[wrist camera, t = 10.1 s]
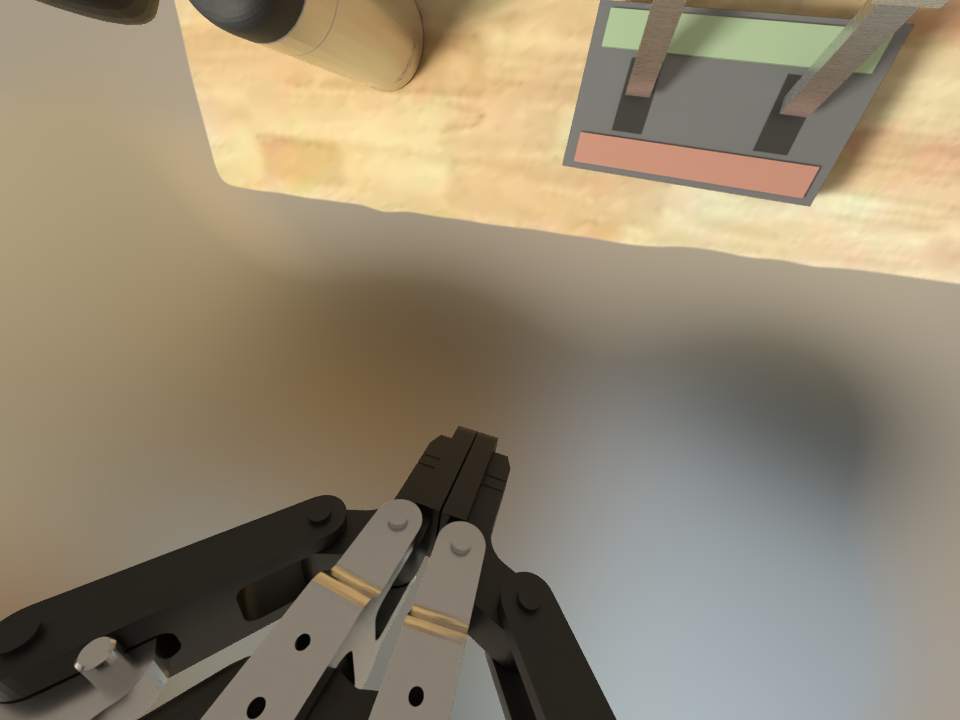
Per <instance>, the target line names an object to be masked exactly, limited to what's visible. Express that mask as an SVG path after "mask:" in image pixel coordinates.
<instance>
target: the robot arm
mask: <svg viewBox="0 0 960 720" xmlns="http://www.w3.org/2000/svg"><path fill="white" fill-rule="evenodd" d="M37 1H39V2H42V3H45V4H48V5H51V6H53V7H57V8H60V9H63V10H66V11H69V12H73V13H76V14H79V15H83V16H86V17H90V18H94V19H98V20H102V21H106V22H112V23H118V24H125V25H141V24H145V23H148V22H150V21H151V20H152V19H153V18H154V17H155V15H156V13H157V9H158V5H159V0H37ZM189 1H190V2H191V3H192V5H193V6H194V7H195V8H196V9H197V10H198V11H199V12H200V13H201V14H202V15H203V16H204V17H205V18H207V19H208V20H209V21H210V22H212V23H213V24H215V25H216V26H217V27H219V28H221V29H223V30H225V31H227V32H229V33H231V34H233V35H236V36H238V37H241V38H244V39H246V40H249V41H252V42H255V43H257V44H260V45H262V46H265V47H267V48H270V49H273V50H275V51H278V52H280V53H283V54H286V55H289V56H291V57H294V58H296V59H299V60H302V61H304V62H307V63H309V64H312V65H315V66H317V67H320V68H322V69H325V70H327V71H330V72H333V73H335V74H338V75H340V76H343V77H346V78H348V79H351V80H353V81H356V82H358V83H361V84H363V85H366V86H369V87H371V88H374V89H377V90H380V91H383V92H391V91H395V90H398V89H400V88H401V87H403V86H405V85H406V84H407V83H408V82H409V81H410V80H411V79H412V77H413V75H414V74H415V72H416V70H417V68H418V65H419V63H420V60H421V55H422V50H423V28H422V22H421V18H420V14H419V11H418V9H417V6H416V4H415V2H414V0H189ZM497 441H498V438H496V437H494V436H490V435H487V434H484V433H481V432H479V433H478V431H474V430H471V429H468V428H465V427H462V426H458V428H457V430H456V431H455V433H454V435H453V437H452V438H449V437H446V436H443V435H441V436H439V437H438V438H436V439H435V440H433V441H432V442H430V444H429V445H428V447H427V448H426V450H425V452H424V454H423V455H422V456H421V458H420V460H419V461H418V464H417V465H416V466H415V468H414V469H413V471H412V472H411V474H410V475H409V477H408V479H407V480H406V482H405V483H404V485H403V487H402V488H401V490H400V491H399V493H398V495H397V496H396V497H395V499H394V500H391V501H389V502H387V503H385V504H383V505H382V506H381V507H380V508H379V509H376V510H367V511H365V510H346V507H345V504H344V503H343V502H342V500H341V499H339V498H337V497H335V496H331V495H322V496H318V497H314V498H311V499H309V500H306V501H304V502H301V503H298V504H296V505H293V506H291V507H288V508H285V509H283V510H280V511H277V512H275V513H272V514H269V515H267V516H264V517H262V518H259V519H256V520H254V521H251V522H249V523H246V524H243V525H240V526H238V527H235V528H233V529H230V530H227V531H225V532H222V533H219V534H217V535H214V536H212V537H209V538H206V539H204V540H201V541H198V542H196V543H193V544H191V545H188V546H185V547H183V548H180V549H178V550H175V551H172V552H169V553H167V554H164V555H162V556H159V557H157V558H154V559H151V560H148V561H146V562H143V563H141V564H138V565H135V566H133V567H130V568H128V569H125V570H122V571H120V572H117V573H115V574H112V575H109V576H106V577H104V578H101V579H99V580H96V581H93V582H91V583H88V584H85V585H83V586H80V587H78V588H75V589H72V590H70V591H67V592H65V593H62V594H59V595H57V596H54V597H51V598H49V599H46V600H43V601H41V602H38V603H36V604H33V605H30V606H28V607H26V608H24V609H21V610H19V611H17V612H16V613H13V614H12V615H10V616H8V617H7V618H5V619H4V620H2V621H1V622H0V720H135V719H136V718H137V717H139V716H142V715H143V714H145V713H146V712H147V711H148V710H149V709H150V708H151V707H152V706H153V704H154V703H155V701H156V699H157V697H158V696H159V694H160V693H161V691H162V690H163V688H164V686H165V684H166V682H167V679H168V678H170V677H171V676H173V675H175V674H177V673H179V672H181V671H183V670H185V669H187V668H188V667H190V666H192V665H194V664H196V663H198V662H199V661H201V660H203V659H205V658H207V657H209V656H211V655H213V654H214V653H217V652H218V651H220V650H222V649H224V648H226V647H228V646H230V645H232V644H233V643H235V642H237V641H239V640H241V639H243V638H245V637H247V636H248V635H250V634H252V633H254V632H256V631H258V630H259V629H261V628H263V627H265V626H267V625H269V624H271V623H273V622H274V621H276V620H278V619H280V618H281V619H280V620H279V622H278V623H277V624H276V625H275V627H274V628H273V629H272V630H271V632H270V633H269V634H268V635H267V637H266V638H265V639H264V640H263V642H262V643H261V644H260V645H259V647H258V648H257V649H256V650H255V652H254V653H253V654H252V655H251V656H249V657H246V658H243V659H241V660H239V661H237V662H235V663H233V664H231V665H229V666H227V667H226V668H224V669H222V670H220V671H219V672H217V673H215V674H214V675H212V676H210V677H209V678H207V679H205V680H203V681H202V682H200V683H198V684H197V685H195V686H193V687H192V688H190V689H188V690H187V691H185V692H183V693H182V694H180V695H178V696H177V697H175V698H173V699H172V700H170V701H168V702H166V703H165V704H163V705H162V706H160V707H158V708H156V709H155V710H153V711H151V712H150V713H148V714H146V715H145V716H143V717H141V718H140V719H138V720H450V715H451V711H452V706H453V701H454V697H455V692H456V687H457V682H458V677H459V673H460V669H461V664H462V659H463V654H464V650H465V645H466V640H467V635H469V636H471V637H472V638H473V639H474V640H475V641H476V642H477V643H478V644H479V645H480V646H481V647H482V648H483V649H484V650H485V655H486V659H487V662H488V665H489V668H490V672H491V675H492V678H493V681H494V684H495V687H496V690H497V693H498V696H499V700H500V703H501V706H502V709H503V713H504V716H505V719H506V720H616V718H615V716H614V714H613V712H612V710H611V708H610V706H609V704H608V702H607V700H606V698H605V696H604V694H603V692H602V690H601V688H600V686H599V684H598V682H597V680H596V678H595V676H594V674H593V672H592V670H591V668H590V666H589V664H588V662H587V660H586V658H585V656H584V654H583V652H582V650H581V648H580V646H579V644H578V642H577V640H576V638H575V636H574V634H573V632H572V630H571V628H570V626H569V625H568V622H567V620H566V618H565V617H564V614H563V612H562V610H561V608H560V606H559V604H558V603H557V600H556V598H555V596H554V594H553V593H552V591H551V589H550V587H549V586H548V585H547V583H546V582H545V581H544V580H543V579H541V578H540V577H539V576H537V575H535V574H533V573H529V572H518V573H515V572H514V571H512V570H511V569H510V568H509V567H508V566H507V565H505V564H504V563H503V562H502V561H501V560H500V559H499V558H498V557H497V555H496V553H495V552H494V549H493V547H492V543H491V535H492V531H493V528H494V525H495V521H496V518H497V515H498V511H499V508H500V504H501V501H502V498H503V494H504V490H505V487H506V483H507V479H508V475H509V471H510V465H509V461H508V457H507V456H504V455H501V454H498V453H495V450H496V447H497ZM425 555H426V556H428V557H430V559H429V562H428V565H427V568H426V570H425V573H424V576H423V579H422V582H421V585H420V587H419V590H418V593H417V596H416V599H415V602H414V604H413V607H412V609H411V611H410V612H409V613H408V614H407V616H406V618H405V621H404V623H403V626H402V628H401V631H400V634H399V637H398V639H397V642H396V645H395V648H394V650H393V653H392V656H391V659H390V661H389V664H388V667H387V670H386V673H385V675H384V678H383V681H382V683H381V686H380V689H379V691H373V690H362V688H363V686H364V684H365V682H366V680H367V678H368V676H369V674H370V672H371V669H372V667H373V665H374V662H375V659H376V656H377V653H378V650H379V648H380V645H381V643H382V641H383V639H384V637H385V635H386V634H387V632H388V630H389V628H390V626H391V624H392V622H393V621H394V619H395V617H396V615H397V613H398V611H399V609H400V608H401V606H402V604H403V602H404V600H405V598H406V596H407V595H408V593H409V591H410V589H411V587H412V585H413V583H414V582H415V579H416V576H417V572H418V570H419V568H420V566H421V564H422V561H423V559H424V557H425Z"/></svg>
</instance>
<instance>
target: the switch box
mask: <svg viewBox="0 0 960 720" xmlns="http://www.w3.org/2000/svg"><path fill="white" fill-rule="evenodd" d="M651 5H652V4H649V3H636V2H624V1H611V0H600V4H599V9H598V13H597V17H596V22H595V26H594V30H593V35H592V39H591V43H590V48H589V52H588V56H587V61H586V65H585V69H584V74H583V78H582V82H581V87H580V91H579V95H578V100H577V104H576V108H575V113H574V117H573V121H572V126H571V130H570V134H569V139H568V143H567V147H566V152H565V156H564V160H563V166H568V167H574V168H580V169H586V170H592V171H598V172H604V173H610V174H616V175H622V176H628V177H634V178H640V179H646V180H652V181H658V182H664V183H670V184H676V185H682V186H688V187H694V188H700V189H706V190H712V191H718V192H724V193H730V194H736V195H742V196H748V197H754V198H760V199H766V200H772V201H778V202H784V203H791V204H797V205H804V206H811V204H812V202H813V200H814V199H815V197H816V195H817V193H818V192H819V190H820V188H821V186H822V185H823V183H824V181H825V179H826V178H827V176H828V174H829V172H830V171H831V169H832V167H833V165H834V164H835V162H836V160H837V158H838V157H839V155H840V153H841V151H842V150H843V148H844V146H845V144H846V143H847V141H848V139H849V138H850V136H851V134H852V132H853V131H854V129H855V127H856V125H857V124H858V122H859V120H860V118H861V117H862V115H863V113H864V111H865V110H866V108H867V106H868V104H869V103H870V101H871V99H872V97H873V96H874V94H875V92H876V90H877V89H878V87H879V85H880V83H881V82H882V80H883V78H884V76H885V75H886V73H887V71H888V69H889V68H890V66H891V64H892V63H893V61H894V59H895V57H896V56H897V54H898V52H899V50H900V49H901V47H902V45H903V43H904V42H905V40H906V38H907V36H908V35H909V33H910V31H911V29H912V28H913V26H914V24H903V25H902V26H901V27H900V28H899V29H898V30H897V31H896V32H895V33H894V34H893V35H892V36H891V37H889V38H888V39H887V40H886V41H885V42H884V43H883V44H882V45H881V46H880V47H879V48H878V49H877V50H876V51H875V52H874V53H873V54H872V55H871V56H870V57H869V58H868V59H867V60H866V61H865V62H864V63H863V64H862V65H861V66H860V67H859V68H858V69H857V70H856V71H855V72H854V73H853V74H852V75H850V76H849V77H848V78H847V79H846V80H845V81H844V82H843V83H842V84H841V85H840V86H839V87H838V88H837V89H836V90H835V91H834V92H833V93H832V94H831V95H830V96H829V97H828V98H827V99H826V100H825V101H824V102H823V103H822V104H821V105H820V106H819V107H818V108H817V109H816V110H815V111H814V112H813V113H812V114H810V115H809V116H808V117H799V116H791V115H783V114H779V113H780V110H781V106H782V103H783V99H784V97H785V95H786V94H787V93H788V92H789V91H790V90H791V89H792V87H793V86H794V85H795V84H796V83H797V82H798V80H799V79H800V78H801V77H802V76H803V75H804V74H805V72H806V71H807V70H808V69H809V68H810V67H811V65H812V64H813V63H814V62H815V61H816V60H817V59H818V57H819V56H820V55H821V54H822V53H823V52H824V50H825V49H826V48H827V47H828V46H829V45H830V44H831V42H832V41H833V40H834V39H835V38H836V37H837V35H838V34H839V33H840V32H841V31H842V30H843V29H844V27H845V26H846V25H847V24H848V23H849V22H850V21H851V19H840V18H827V17H814V16H802V15H789V14H776V13H764V12H751V11H738V10H725V9H713V8H700V7H687V6H685V7H684V9H683V12H682V15H681V17H680V20H679V22H678V25H677V27H676V30H675V33H674V35H673V38H672V40H671V43H670V46H669V48H668V51H667V53H666V56H665V58H664V61H663V64H662V66H661V69H660V71H659V74H658V77H657V79H656V82H655V84H654V87H653V90H652V92H651V95H650V97H649V98H647V97H639V96H631V95H625V94H626V90H627V86H628V83H629V79H630V76H631V73H632V69H633V66H634V62H635V59H636V56H637V52H638V49H639V45H640V42H641V39H642V35H643V32H644V29H645V25H646V22H647V18H648V15H649V12H650V8H651Z"/></svg>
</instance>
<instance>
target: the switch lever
mask: <svg viewBox="0 0 960 720" xmlns="http://www.w3.org/2000/svg"><path fill="white" fill-rule="evenodd" d="M948 1H949V0H868V1H867V2H866V3H865V4H864V6H863V7H862V8H861V9H860V10H859V11H858V12H857V14H856V15H855V16H854V17H853V18H852V19H851V21H850V22H849V23H848V24H847V25H846V26H845V27H844V29H843V30H842V31H841V32H840V33H839V34H838V35H837V37H836V38H835V39H834V40H833V41H832V42H831V44H830V45H829V46H828V47H827V48H826V49H825V50H824V52H823V53H822V54H821V55H820V56H819V57H818V59H817V60H816V61H815V62H814V63H813V64H812V65H811V67H810V68H809V69H808V70H807V71H806V72H805V74H804V75H803V76H802V77H801V78H800V79H799V80H798V82H797V83H796V84H795V85H794V86H793V87H792V89H791V90H790V91H789V92H788V93H787V94H786V95H785V97H784V99H783V103H782V106H781V110H780V113H779V114H783V115H791V116H799V117H808V116H809V115H810V114H812V113H813V112H814V111H815V110H816V109H817V108H818V107H819V106H820V105H821V104H822V103H823V102H824V101H825V100H826V99H827V98H828V97H829V96H830V95H831V94H832V93H833V92H834V91H835V90H836V89H837V88H838V87H839V86H840V85H841V84H842V83H843V82H844V81H845V80H846V79H847V78H848V77H849V76H850V75H852V74H853V73H854V72H855V71H856V70H857V69H858V68H859V67H860V66H861V65H862V64H863V63H864V62H865V61H866V60H867V59H868V58H869V57H870V56H871V55H872V54H873V53H874V52H875V51H876V50H877V49H878V48H879V47H880V46H881V45H882V44H883V43H884V42H885V41H886V40H887V39H888V38H889V37H891V36H892V35H893V34H894V33H895V32H896V31H897V30H898V29H899V28H900V27H901V26H902V25H903V24H904V23H905V22H906V21H907V20H908V19H909V18H910V17H911V16H912V15H913V14H914V13H915V12H916V11H917V10H918V9H919V8H920V7H924V8H939V9H940V8H941V7H942V6H943V5H944V4H945V3H947V2H948Z"/></svg>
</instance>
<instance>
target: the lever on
mask: <svg viewBox="0 0 960 720" xmlns="http://www.w3.org/2000/svg"><path fill="white" fill-rule="evenodd" d="M686 2H687V0H653V1H652V5H651V8H650V12H649V15H648V18H647V22H646V25H645V29H644V32H643V35H642V39H641V42H640V45H639V49H638V52H637V56H636V59H635V62H634V66H633V69H632V73H631V76H630V79H629V83H628V86H627V90H626V94H625V95H631V96H639V97H647V98H649V97H650V95H651V92H652V90H653V87H654V84H655V82H656V79H657V77H658V74H659V71H660V69H661V66H662V64H663V61H664V58H665V56H666V53H667V51H668V48H669V46H670V43H671V40H672V38H673V35H674V33H675V30H676V27H677V25H678V22H679V20H680V17H681V15H682V12H683V9H684V7H685V4H686Z"/></svg>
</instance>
